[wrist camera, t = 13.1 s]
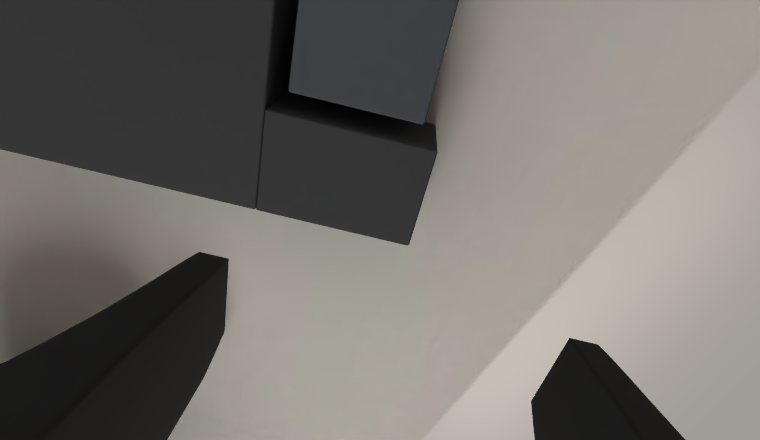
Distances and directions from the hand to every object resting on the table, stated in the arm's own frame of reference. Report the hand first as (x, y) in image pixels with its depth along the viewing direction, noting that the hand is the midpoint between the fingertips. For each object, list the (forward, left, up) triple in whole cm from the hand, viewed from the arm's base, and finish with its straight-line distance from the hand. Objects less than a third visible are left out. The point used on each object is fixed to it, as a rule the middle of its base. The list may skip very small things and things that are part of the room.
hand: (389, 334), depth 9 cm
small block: (+4, -3, -10) cm, 12 cm away
